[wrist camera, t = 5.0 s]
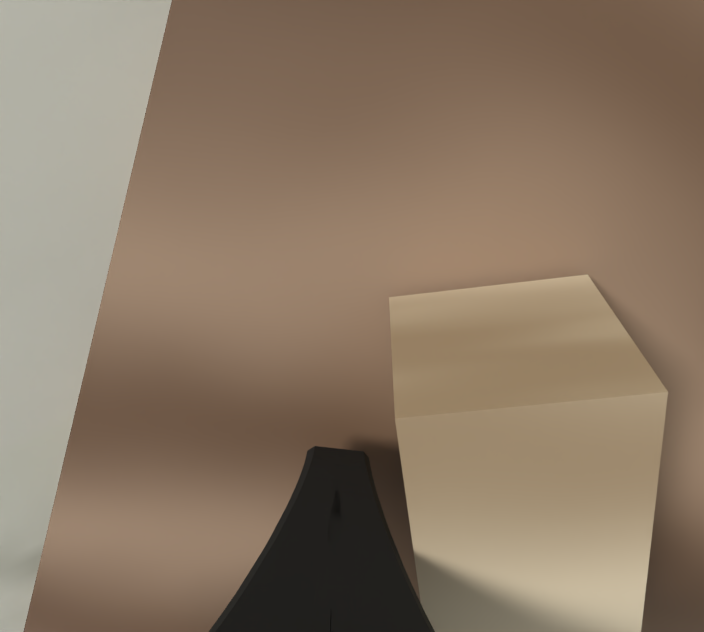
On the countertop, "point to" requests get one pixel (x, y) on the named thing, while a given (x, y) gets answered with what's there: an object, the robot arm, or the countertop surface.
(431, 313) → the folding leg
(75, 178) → the countertop surface
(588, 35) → the wooden board
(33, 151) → the countertop surface
